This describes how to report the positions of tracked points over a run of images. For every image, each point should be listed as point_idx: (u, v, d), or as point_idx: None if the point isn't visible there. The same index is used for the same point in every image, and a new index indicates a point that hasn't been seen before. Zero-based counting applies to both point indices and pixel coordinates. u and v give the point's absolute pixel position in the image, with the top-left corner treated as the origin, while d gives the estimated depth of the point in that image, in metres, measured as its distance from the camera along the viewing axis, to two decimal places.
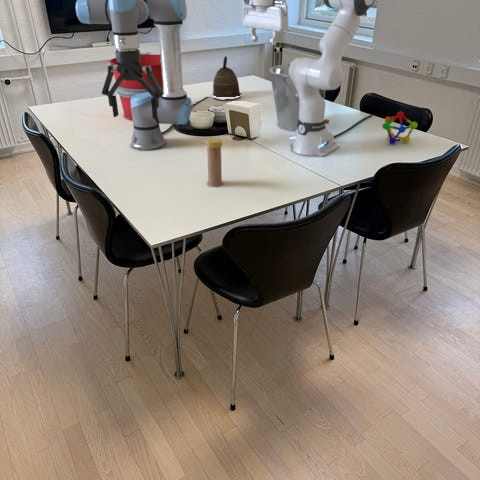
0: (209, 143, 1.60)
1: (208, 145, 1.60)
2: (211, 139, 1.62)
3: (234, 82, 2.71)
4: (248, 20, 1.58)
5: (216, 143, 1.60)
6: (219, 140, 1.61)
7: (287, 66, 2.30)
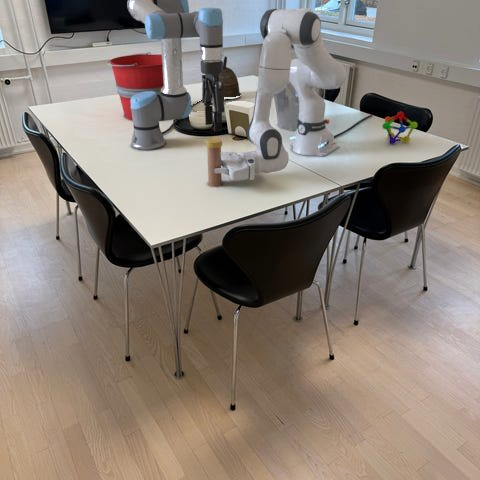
0: (209, 143, 1.60)
1: (208, 145, 1.60)
2: (211, 139, 1.62)
3: (234, 82, 2.71)
4: None
5: (216, 143, 1.60)
6: (219, 140, 1.61)
7: None
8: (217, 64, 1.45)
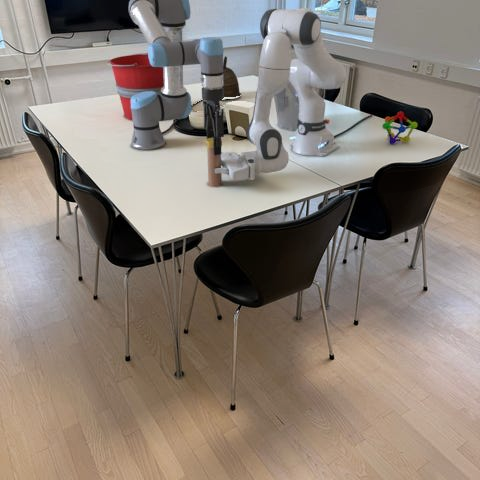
0: (209, 143, 1.60)
1: (208, 145, 1.60)
2: (211, 139, 1.62)
3: (234, 82, 2.71)
4: None
5: None
6: None
7: None
8: (218, 91, 1.49)
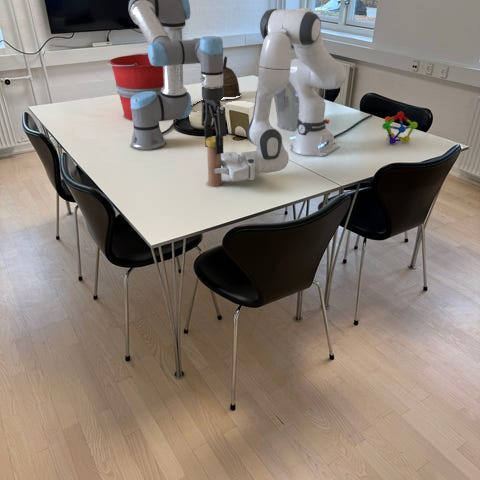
0: None
1: None
2: (212, 140, 1.60)
3: (234, 82, 2.71)
4: None
5: None
6: (214, 137, 1.63)
7: None
8: (218, 90, 1.49)
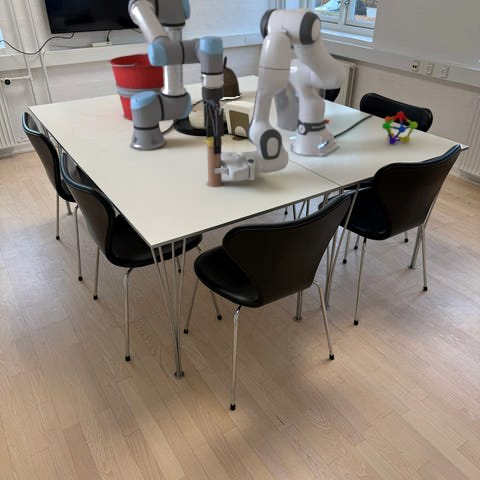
0: (221, 141, 1.61)
1: None
2: (212, 140, 1.60)
3: (234, 82, 2.71)
4: None
5: None
6: None
7: None
8: (218, 90, 1.49)
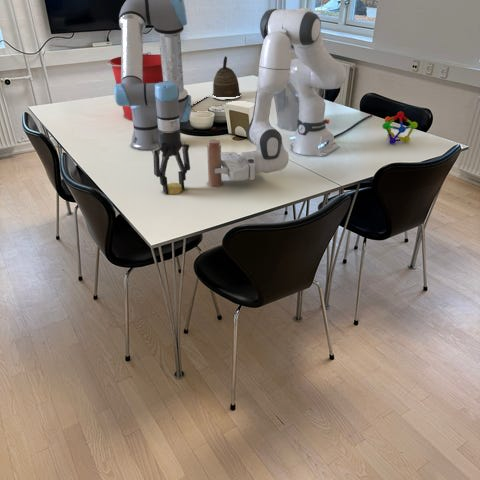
0: None
1: None
2: (176, 186, 1.64)
3: (234, 82, 2.71)
4: None
5: None
6: None
7: None
8: None
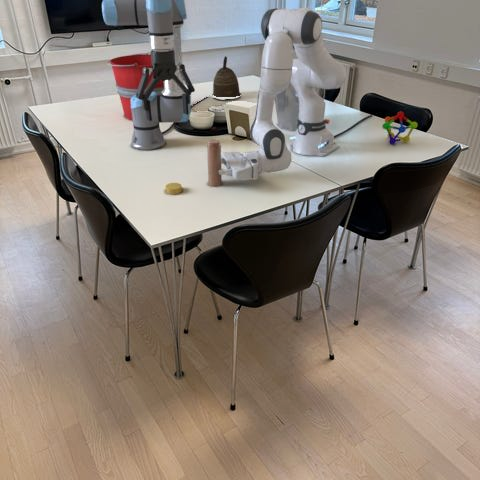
0: None
1: None
2: (176, 186, 1.64)
3: (234, 82, 2.71)
4: None
5: None
6: (167, 186, 1.64)
7: None
8: None
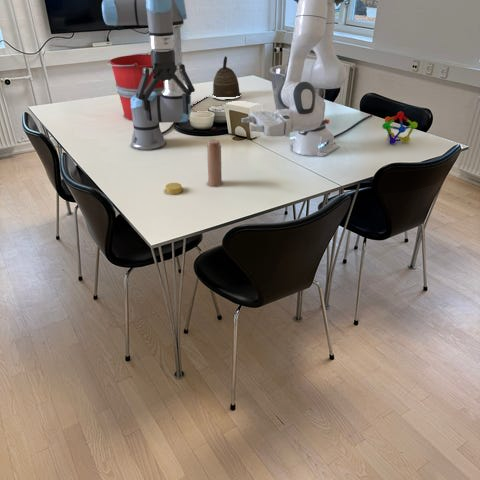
0: None
1: None
2: (176, 186, 1.64)
3: (234, 82, 2.71)
4: None
5: None
6: (167, 186, 1.64)
7: None
8: None
